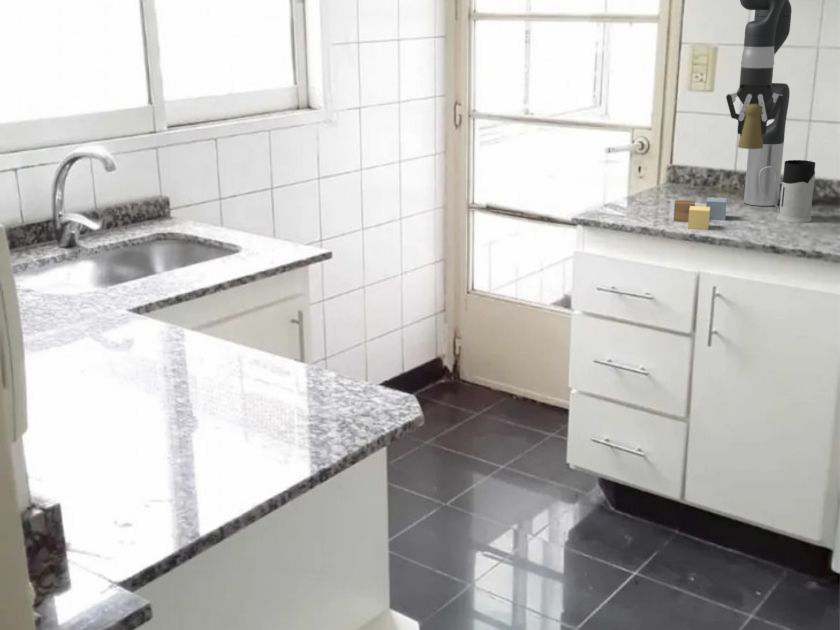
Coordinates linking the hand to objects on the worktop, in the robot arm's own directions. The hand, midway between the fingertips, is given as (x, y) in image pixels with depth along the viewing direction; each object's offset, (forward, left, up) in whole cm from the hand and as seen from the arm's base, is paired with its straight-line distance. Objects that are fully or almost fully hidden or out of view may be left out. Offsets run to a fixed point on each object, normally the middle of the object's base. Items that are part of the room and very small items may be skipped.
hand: (751, 135), depth 248 cm
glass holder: (-12, +10, -23) cm, 28 cm away
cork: (0, 0, -3) cm, 3 cm away
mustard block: (+3, -11, -23) cm, 26 cm away
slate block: (-9, -7, -23) cm, 26 cm away
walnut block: (-5, -15, -23) cm, 28 cm away
